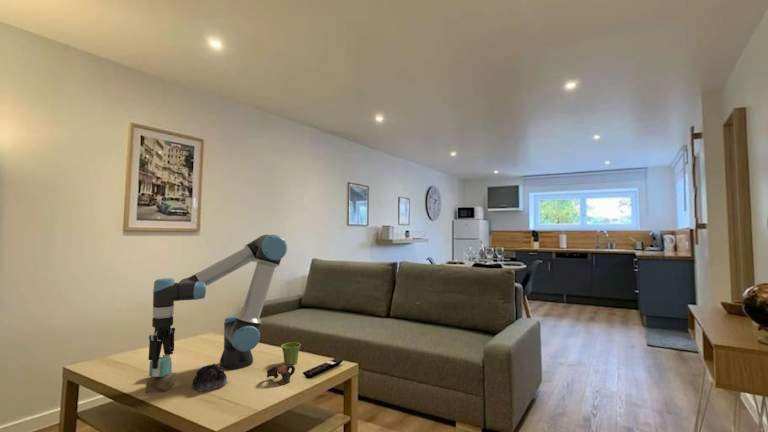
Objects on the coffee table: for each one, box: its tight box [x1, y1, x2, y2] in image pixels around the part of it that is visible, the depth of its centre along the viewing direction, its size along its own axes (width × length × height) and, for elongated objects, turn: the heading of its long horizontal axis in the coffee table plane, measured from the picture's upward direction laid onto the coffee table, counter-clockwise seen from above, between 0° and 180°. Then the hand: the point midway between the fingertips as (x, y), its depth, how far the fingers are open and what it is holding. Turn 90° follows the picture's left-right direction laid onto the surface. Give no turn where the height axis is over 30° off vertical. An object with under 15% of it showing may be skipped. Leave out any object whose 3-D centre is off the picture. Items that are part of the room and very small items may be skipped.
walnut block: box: [145, 372, 177, 393], centre depth 156 cm, size 8×8×5 cm
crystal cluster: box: [191, 363, 228, 392], centre depth 159 cm, size 14×14×10 cm
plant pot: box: [280, 342, 302, 366], centre depth 187 cm, size 9×9×9 cm
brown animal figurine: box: [266, 363, 296, 386], centre depth 165 cm, size 12×10×8 cm
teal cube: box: [148, 356, 172, 378], centre depth 157 cm, size 6×6×6 cm
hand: (161, 373), depth 157 cm, fingers closed on teal cube, 5 cm apart
